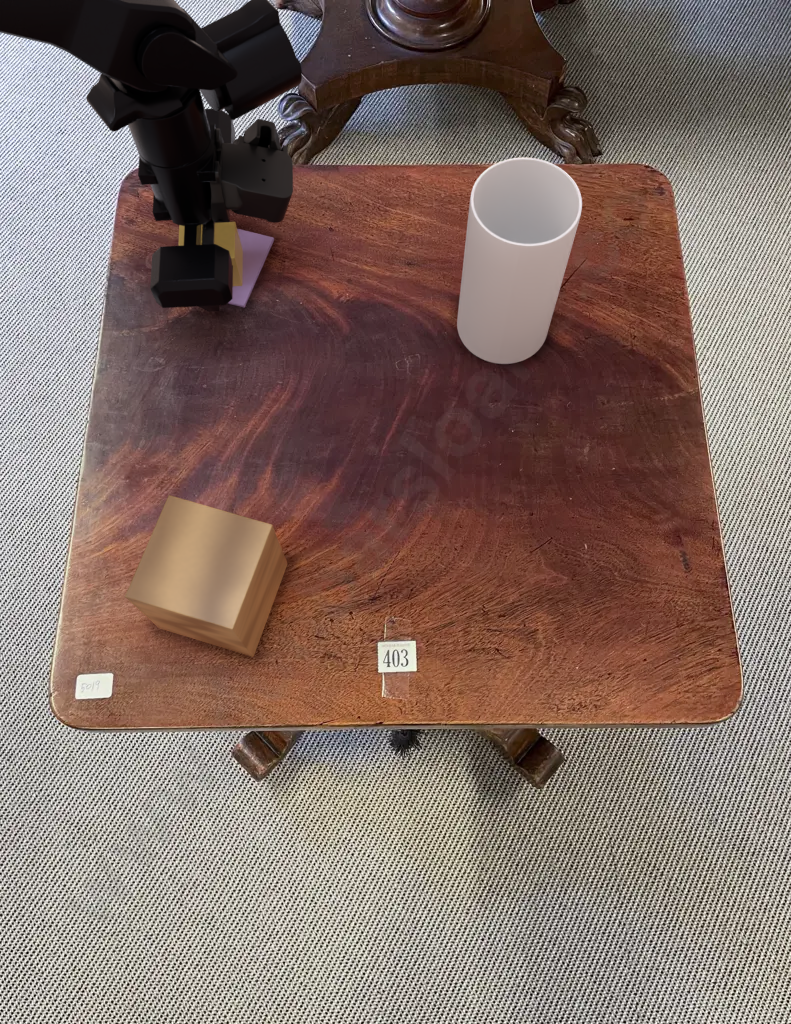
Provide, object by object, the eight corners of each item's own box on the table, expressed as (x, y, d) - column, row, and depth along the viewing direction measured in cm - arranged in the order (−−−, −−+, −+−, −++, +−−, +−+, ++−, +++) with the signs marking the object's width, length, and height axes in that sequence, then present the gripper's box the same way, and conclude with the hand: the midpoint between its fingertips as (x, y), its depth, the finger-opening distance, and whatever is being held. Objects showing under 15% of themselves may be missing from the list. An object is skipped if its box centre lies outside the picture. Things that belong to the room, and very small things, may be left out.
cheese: (188, 288, 79) (177, 261, 75) (189, 253, 80) (179, 224, 77) (242, 286, 79) (234, 258, 75) (242, 250, 80) (235, 221, 77)
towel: (163, 286, 79) (162, 284, 79) (195, 220, 82) (195, 217, 82) (244, 307, 78) (244, 306, 78) (274, 239, 81) (274, 237, 81)
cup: (551, 292, 79) (586, 163, 64) (543, 369, 76) (578, 252, 61) (462, 281, 79) (477, 151, 64) (451, 357, 76) (463, 239, 62)
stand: (158, 628, 68) (124, 596, 59) (196, 536, 70) (168, 494, 62) (253, 657, 67) (232, 629, 58) (288, 563, 69) (272, 524, 61)
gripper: (280, 233, 62) (303, 350, 76) (279, 44, 69) (300, 184, 83) (125, 241, 62) (177, 356, 76) (139, 50, 68) (185, 190, 83)
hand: (214, 268), depth 80 cm, fingers open, 9 cm apart
